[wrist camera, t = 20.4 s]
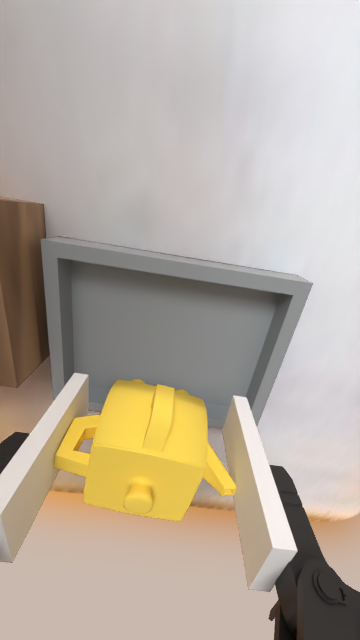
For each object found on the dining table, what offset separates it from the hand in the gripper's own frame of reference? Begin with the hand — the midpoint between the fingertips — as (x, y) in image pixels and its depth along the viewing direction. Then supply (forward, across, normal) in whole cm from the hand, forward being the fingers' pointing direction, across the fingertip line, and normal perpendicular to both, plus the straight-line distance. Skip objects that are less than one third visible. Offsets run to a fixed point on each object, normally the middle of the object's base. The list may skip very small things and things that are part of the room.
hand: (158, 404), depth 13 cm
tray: (+8, 0, 0) cm, 8 cm away
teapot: (+1, 0, 0) cm, 1 cm away
